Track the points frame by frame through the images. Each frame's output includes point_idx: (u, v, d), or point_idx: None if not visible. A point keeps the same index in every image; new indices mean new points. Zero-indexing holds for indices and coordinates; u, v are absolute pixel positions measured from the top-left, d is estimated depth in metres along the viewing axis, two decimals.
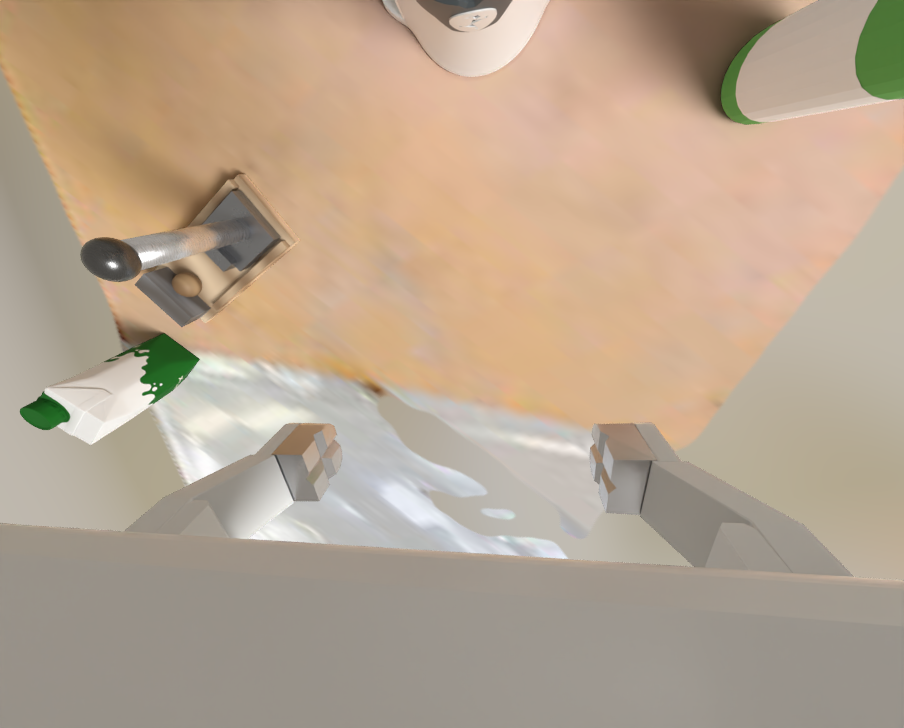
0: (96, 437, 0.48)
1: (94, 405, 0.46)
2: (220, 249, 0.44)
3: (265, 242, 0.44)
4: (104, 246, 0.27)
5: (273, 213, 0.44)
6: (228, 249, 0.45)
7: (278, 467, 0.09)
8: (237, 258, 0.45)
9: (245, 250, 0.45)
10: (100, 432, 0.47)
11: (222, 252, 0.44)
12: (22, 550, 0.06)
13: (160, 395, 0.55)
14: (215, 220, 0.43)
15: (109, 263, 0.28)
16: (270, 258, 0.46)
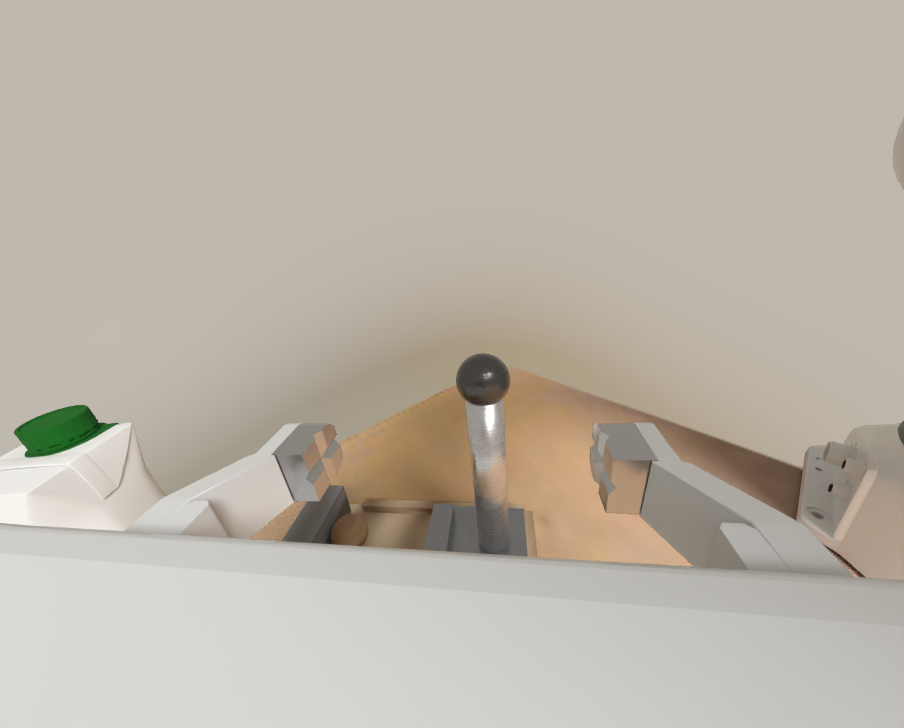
0: None
1: (80, 477, 0.24)
2: (450, 532, 0.30)
3: None
4: (504, 365, 0.23)
5: None
6: (453, 542, 0.30)
7: (278, 467, 0.09)
8: None
9: None
10: None
11: (449, 535, 0.30)
12: (22, 550, 0.06)
13: None
14: (474, 513, 0.33)
15: (498, 366, 0.21)
16: None
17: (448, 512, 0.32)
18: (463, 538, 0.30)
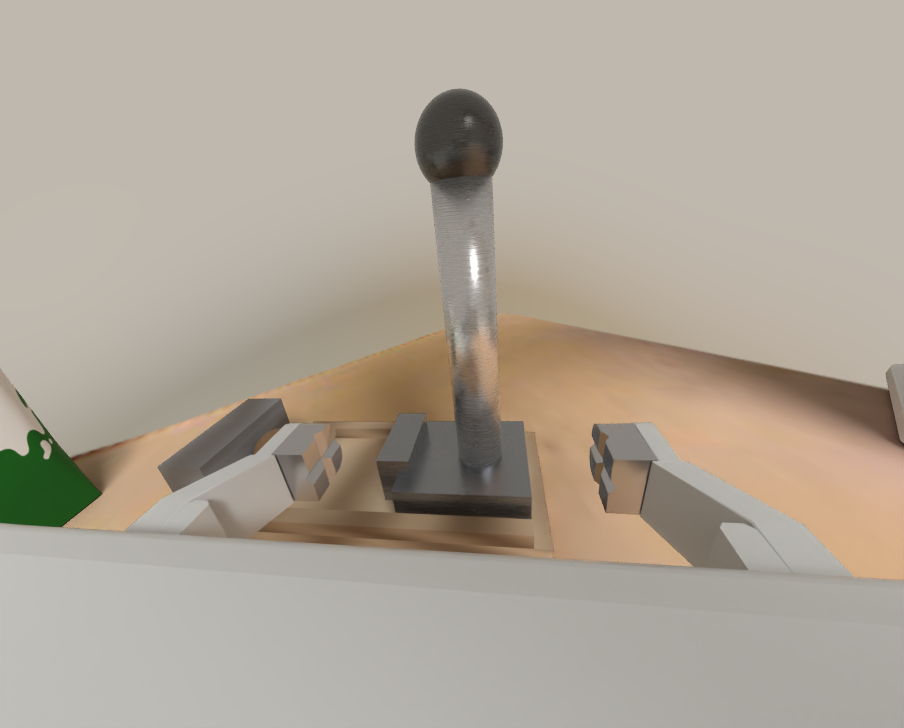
0: None
1: None
2: (417, 443, 0.21)
3: (508, 489, 0.18)
4: None
5: None
6: (422, 458, 0.21)
7: (278, 467, 0.09)
8: (417, 475, 0.20)
9: (449, 475, 0.19)
10: None
11: (416, 446, 0.21)
12: (22, 550, 0.06)
13: None
14: (454, 427, 0.24)
15: (482, 98, 0.13)
16: (471, 527, 0.17)
17: (417, 421, 0.22)
18: (437, 453, 0.21)
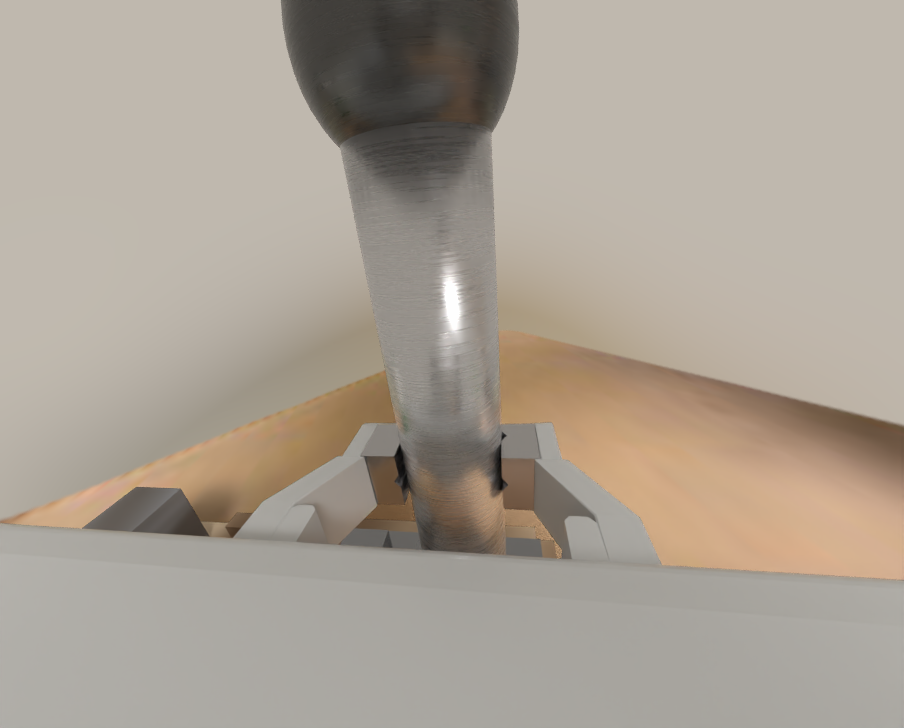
0: None
1: None
2: None
3: None
4: None
5: None
6: None
7: (364, 469, 0.09)
8: None
9: None
10: None
11: None
12: (22, 550, 0.06)
13: None
14: None
15: None
16: None
17: None
18: None
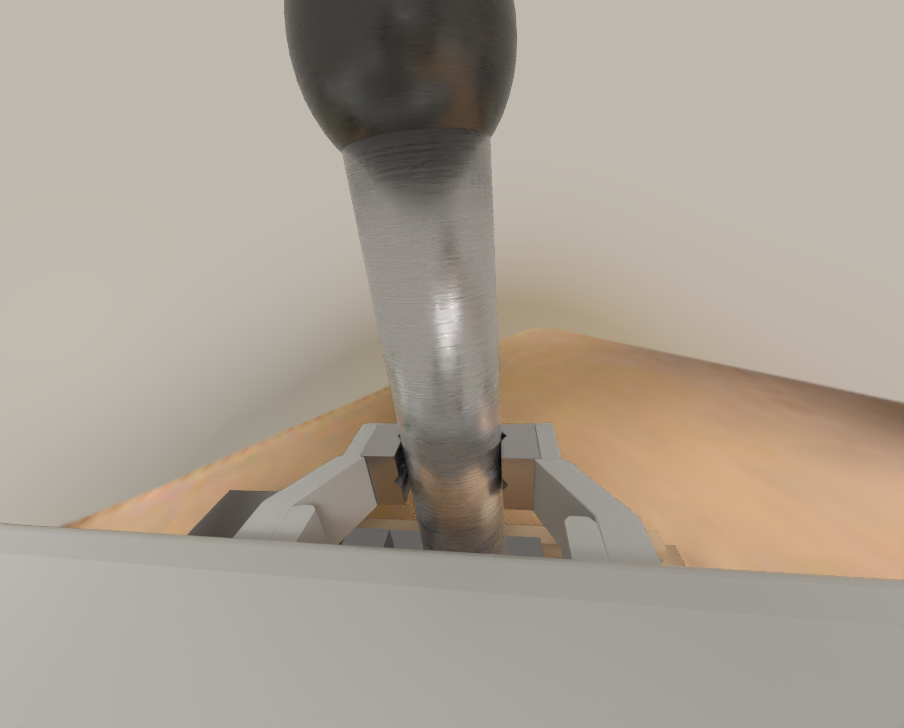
0: None
1: None
2: None
3: None
4: None
5: None
6: None
7: (364, 469, 0.09)
8: None
9: None
10: None
11: None
12: (22, 550, 0.06)
13: None
14: None
15: None
16: None
17: None
18: None
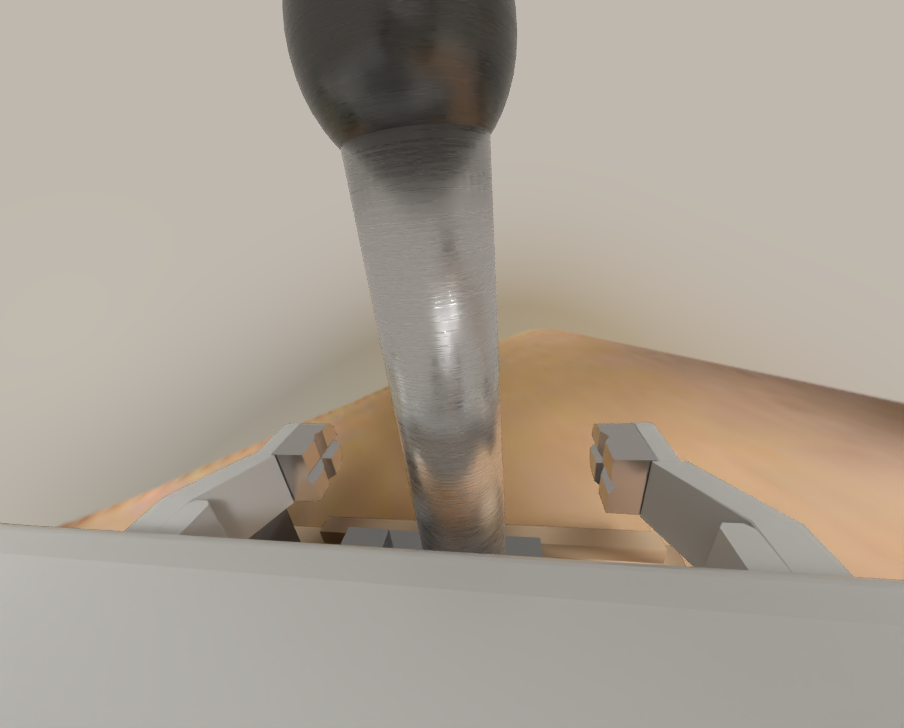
0: None
1: None
2: None
3: None
4: None
5: None
6: None
7: (277, 467, 0.09)
8: None
9: None
10: None
11: None
12: (22, 550, 0.06)
13: None
14: None
15: None
16: None
17: None
18: None
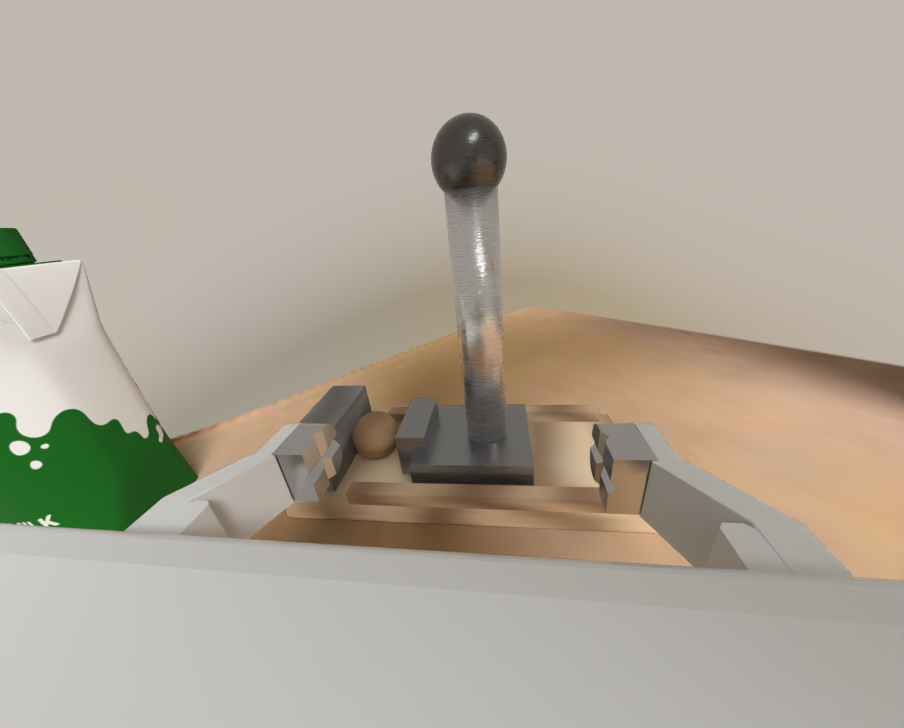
0: None
1: None
2: (431, 423, 0.23)
3: (512, 460, 0.20)
4: None
5: None
6: (434, 436, 0.23)
7: (277, 467, 0.09)
8: (432, 450, 0.22)
9: (460, 450, 0.22)
10: None
11: (429, 425, 0.23)
12: (22, 550, 0.06)
13: None
14: (462, 410, 0.26)
15: (489, 121, 0.15)
16: (583, 496, 0.19)
17: (429, 404, 0.25)
18: (448, 432, 0.24)
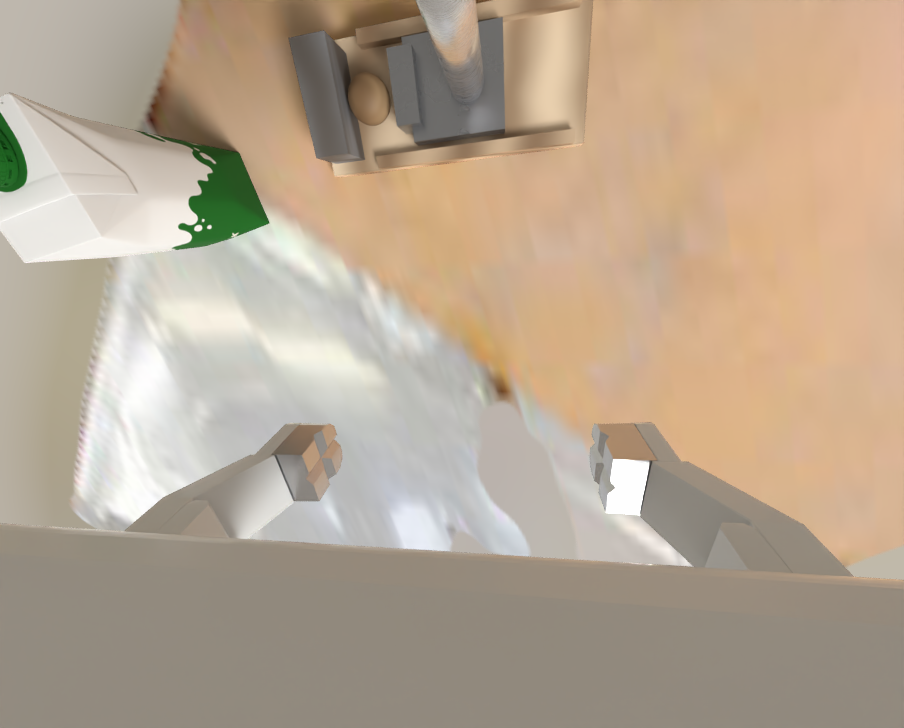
0: (51, 255, 0.22)
1: (96, 193, 0.21)
2: (417, 90, 0.26)
3: (489, 124, 0.27)
4: None
5: None
6: (423, 99, 0.27)
7: (277, 467, 0.09)
8: (426, 120, 0.28)
9: (449, 117, 0.27)
10: (69, 250, 0.22)
11: (417, 96, 0.26)
12: (22, 550, 0.06)
13: (195, 243, 0.30)
14: None
15: None
16: (536, 143, 0.28)
17: (407, 60, 0.25)
18: (433, 90, 0.27)
